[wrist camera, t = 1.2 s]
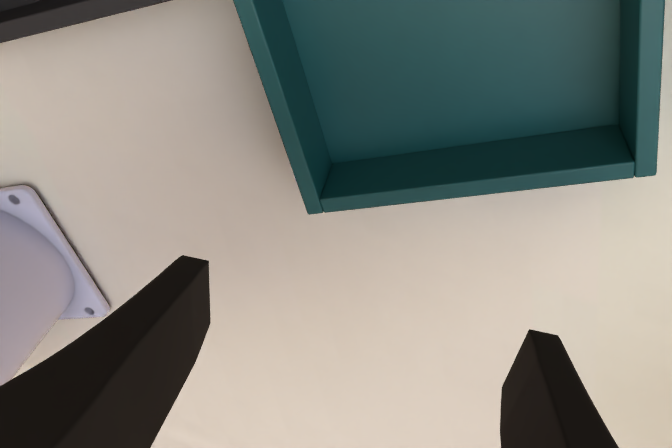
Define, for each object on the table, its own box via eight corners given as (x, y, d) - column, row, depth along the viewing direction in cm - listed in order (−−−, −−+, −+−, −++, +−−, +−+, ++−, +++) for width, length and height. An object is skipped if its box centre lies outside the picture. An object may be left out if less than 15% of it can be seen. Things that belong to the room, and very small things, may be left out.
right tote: (323, 172, 23) (307, 215, 21) (221, -153, 17) (182, -143, 15) (635, 130, 20) (656, 176, 18) (646, -293, 14) (681, -308, 11)
